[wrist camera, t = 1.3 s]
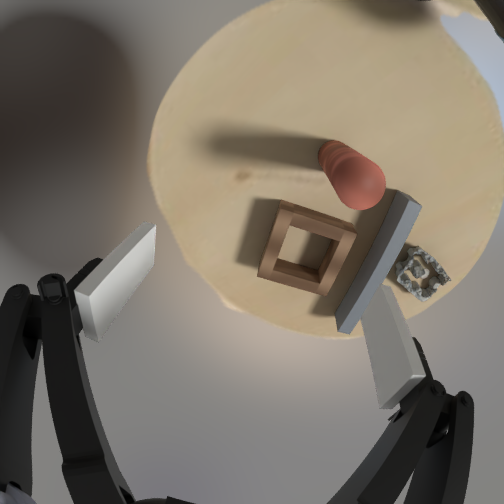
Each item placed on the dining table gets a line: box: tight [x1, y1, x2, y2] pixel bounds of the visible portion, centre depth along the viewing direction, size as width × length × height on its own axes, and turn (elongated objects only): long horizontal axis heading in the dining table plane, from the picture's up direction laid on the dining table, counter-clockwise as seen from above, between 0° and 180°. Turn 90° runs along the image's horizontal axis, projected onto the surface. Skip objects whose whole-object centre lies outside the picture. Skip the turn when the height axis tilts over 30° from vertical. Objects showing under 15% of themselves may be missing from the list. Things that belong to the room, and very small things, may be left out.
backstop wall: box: [335, 190, 422, 334], centre depth 43 cm, size 26×2×5 cm, turn 165°
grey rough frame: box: [395, 246, 451, 301], centre depth 43 cm, size 11×8×4 cm
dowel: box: [318, 141, 386, 210], centre depth 31 cm, size 5×5×16 cm
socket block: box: [257, 200, 357, 296], centre depth 44 cm, size 12×12×4 cm
